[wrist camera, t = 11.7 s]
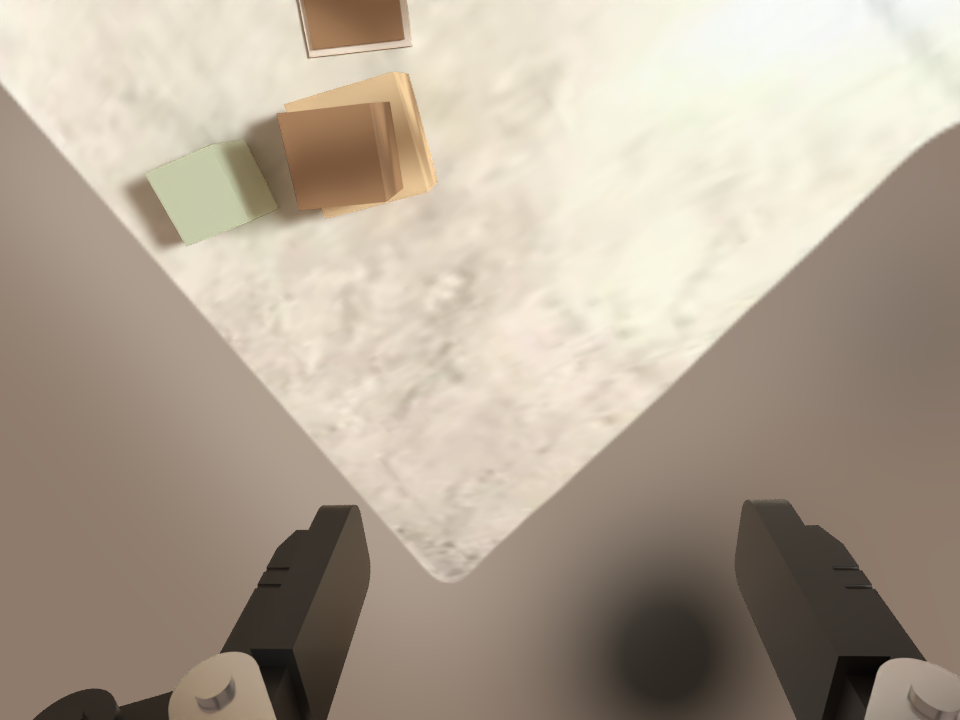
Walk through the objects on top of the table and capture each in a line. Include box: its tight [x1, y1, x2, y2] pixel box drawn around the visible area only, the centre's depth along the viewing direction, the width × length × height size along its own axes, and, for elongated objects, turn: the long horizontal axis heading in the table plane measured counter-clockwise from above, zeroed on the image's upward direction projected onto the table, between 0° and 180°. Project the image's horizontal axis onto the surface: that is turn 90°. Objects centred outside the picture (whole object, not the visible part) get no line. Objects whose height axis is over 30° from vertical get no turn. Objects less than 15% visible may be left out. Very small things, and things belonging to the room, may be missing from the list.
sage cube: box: [145, 139, 279, 247], centre depth 39 cm, size 5×5×5 cm
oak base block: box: [284, 72, 438, 219], centre depth 37 cm, size 7×7×5 cm
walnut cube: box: [277, 102, 403, 210], centre depth 33 cm, size 5×5×5 cm
